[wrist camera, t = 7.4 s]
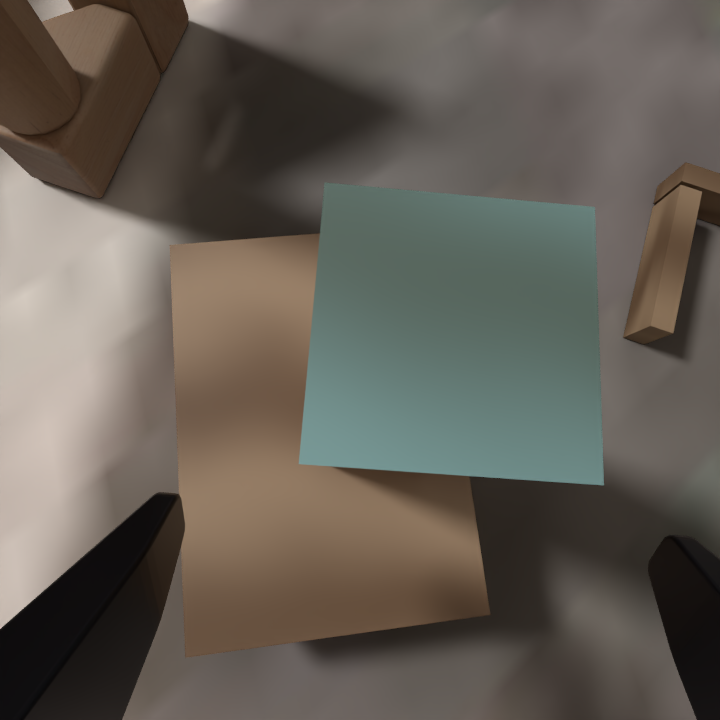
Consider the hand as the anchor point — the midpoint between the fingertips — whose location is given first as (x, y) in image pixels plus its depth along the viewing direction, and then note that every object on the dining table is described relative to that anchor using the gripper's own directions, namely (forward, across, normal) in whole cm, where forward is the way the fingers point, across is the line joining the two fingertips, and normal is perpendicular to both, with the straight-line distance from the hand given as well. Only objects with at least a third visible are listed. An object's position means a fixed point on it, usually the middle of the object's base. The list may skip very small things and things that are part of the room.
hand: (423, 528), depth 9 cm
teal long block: (+7, 0, +3) cm, 8 cm away
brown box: (+10, +2, +6) cm, 12 cm away
